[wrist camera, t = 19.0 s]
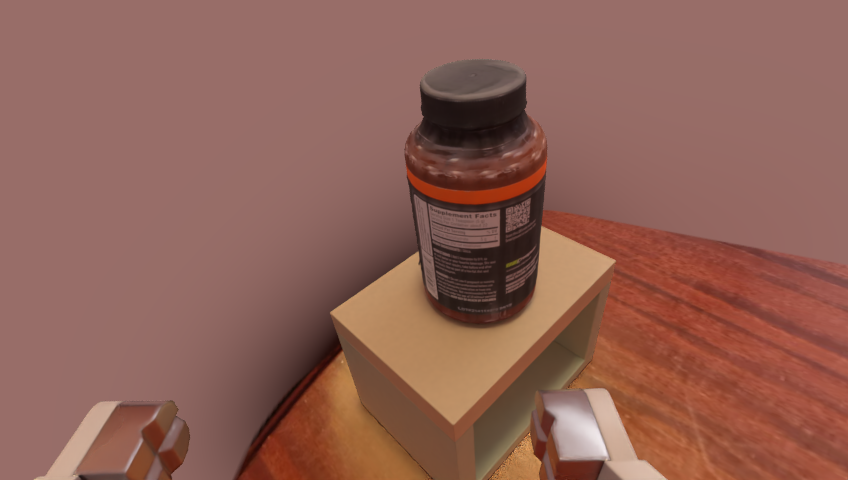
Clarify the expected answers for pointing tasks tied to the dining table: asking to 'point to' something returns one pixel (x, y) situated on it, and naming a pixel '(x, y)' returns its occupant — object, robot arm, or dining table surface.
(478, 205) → the supplement bottle
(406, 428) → the shelf
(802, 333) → the dining table surface
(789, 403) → the dining table surface
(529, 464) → the dining table surface
